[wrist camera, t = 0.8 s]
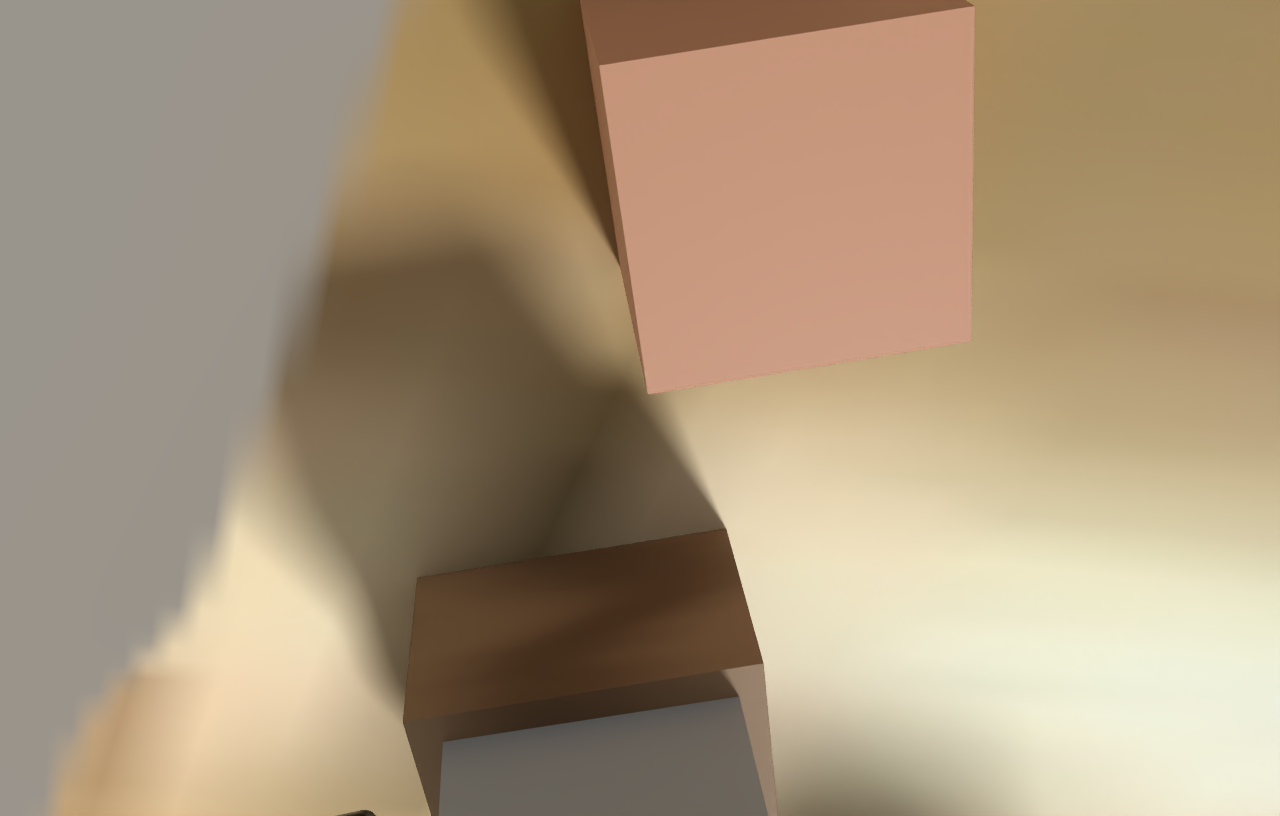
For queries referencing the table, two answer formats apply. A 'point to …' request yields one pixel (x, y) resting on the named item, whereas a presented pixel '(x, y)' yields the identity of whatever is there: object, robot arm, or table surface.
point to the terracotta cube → (786, 178)
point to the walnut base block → (582, 645)
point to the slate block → (610, 767)
